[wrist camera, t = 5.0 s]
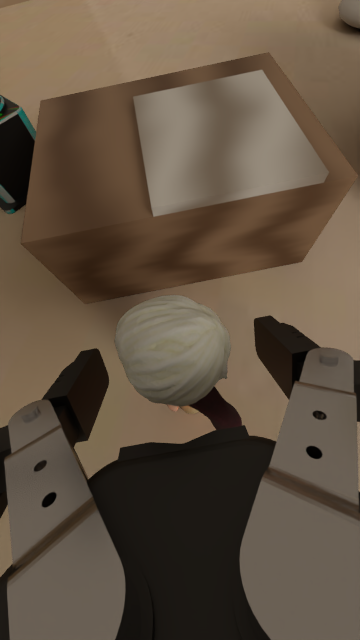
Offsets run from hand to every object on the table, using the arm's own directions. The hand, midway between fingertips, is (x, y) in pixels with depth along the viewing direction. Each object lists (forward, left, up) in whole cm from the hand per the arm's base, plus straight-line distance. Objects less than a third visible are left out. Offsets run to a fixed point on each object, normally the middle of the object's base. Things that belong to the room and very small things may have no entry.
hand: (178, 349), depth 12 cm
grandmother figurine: (0, -1, -7) cm, 7 cm away
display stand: (+2, +16, -6) cm, 17 cm away
